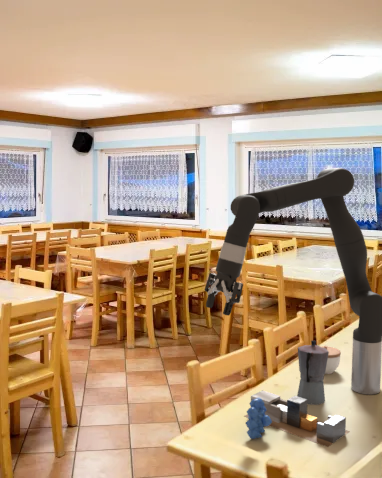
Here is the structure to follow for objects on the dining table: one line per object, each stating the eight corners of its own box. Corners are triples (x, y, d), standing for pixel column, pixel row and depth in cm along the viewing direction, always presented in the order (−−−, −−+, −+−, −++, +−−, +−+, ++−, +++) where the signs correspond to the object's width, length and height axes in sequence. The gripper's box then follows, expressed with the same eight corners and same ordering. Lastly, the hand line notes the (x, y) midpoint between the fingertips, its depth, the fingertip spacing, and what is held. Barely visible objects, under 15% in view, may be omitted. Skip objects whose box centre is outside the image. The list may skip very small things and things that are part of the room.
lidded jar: (343, 369, 202) (344, 344, 201) (334, 378, 193) (335, 352, 192) (315, 364, 208) (316, 340, 207) (305, 372, 199) (306, 347, 198)
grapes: (265, 453, 139) (266, 408, 138) (240, 448, 142) (241, 403, 141) (277, 434, 150) (278, 392, 149) (253, 429, 153) (254, 388, 151)
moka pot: (329, 397, 176) (330, 336, 174) (324, 416, 161) (326, 350, 159) (299, 393, 179) (300, 333, 177) (292, 411, 165) (293, 347, 162)
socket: (329, 429, 150) (329, 412, 149) (345, 434, 147) (345, 417, 146) (316, 437, 145) (316, 420, 144) (332, 443, 142) (333, 425, 141)
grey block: (263, 408, 163) (263, 385, 162) (317, 427, 151) (318, 402, 150) (255, 412, 160) (255, 389, 159) (310, 432, 148) (310, 407, 147)
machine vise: (267, 408, 167) (268, 387, 166) (349, 436, 149) (350, 413, 148) (243, 421, 158) (244, 398, 157) (327, 452, 140) (328, 427, 139)
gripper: (255, 266, 162) (241, 319, 162) (225, 257, 173) (212, 306, 173) (237, 261, 157) (222, 316, 157) (207, 252, 169) (194, 303, 169)
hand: (217, 311), depth 165 cm, fingers open, 8 cm apart
